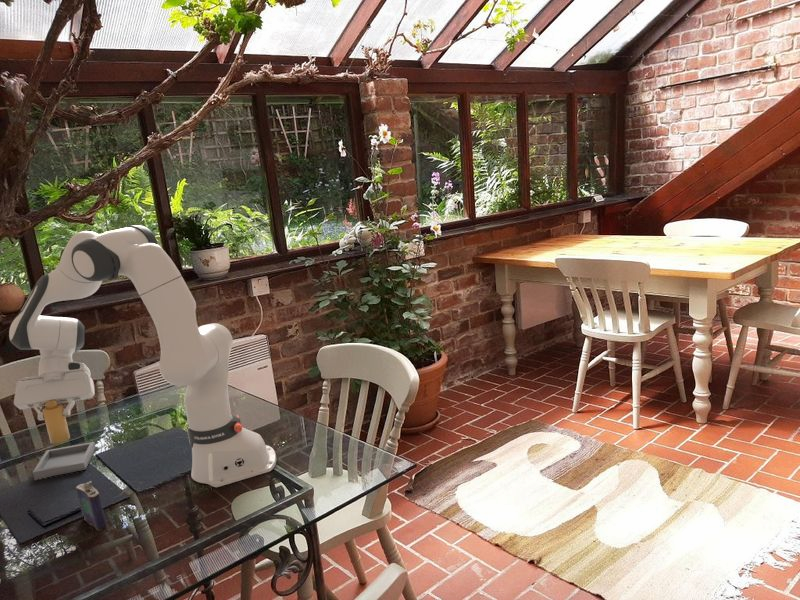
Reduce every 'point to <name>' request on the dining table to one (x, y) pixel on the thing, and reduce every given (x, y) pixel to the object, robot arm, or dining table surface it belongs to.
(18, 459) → the dining table surface
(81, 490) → the flask
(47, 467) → the gray tray
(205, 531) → the dining table surface
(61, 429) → the amber bottle
